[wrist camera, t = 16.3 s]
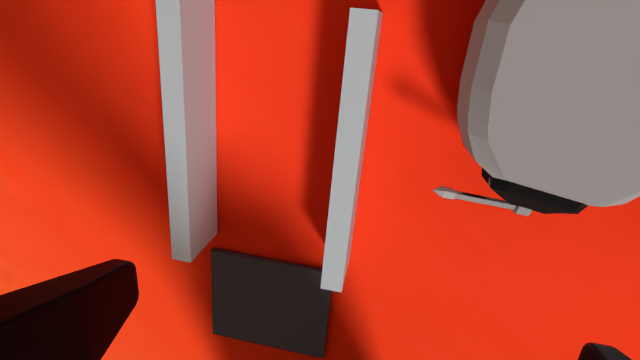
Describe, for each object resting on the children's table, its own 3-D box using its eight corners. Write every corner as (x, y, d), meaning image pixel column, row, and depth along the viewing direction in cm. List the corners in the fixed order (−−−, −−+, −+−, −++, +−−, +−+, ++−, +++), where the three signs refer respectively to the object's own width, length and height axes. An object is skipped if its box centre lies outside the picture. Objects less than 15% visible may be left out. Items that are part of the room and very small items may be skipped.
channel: (349, 257, 21) (341, 292, 18) (200, 230, 22) (172, 258, 19) (382, 13, 16) (378, 9, 14) (193, -4, 18) (154, -10, 15)
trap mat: (323, 354, 23) (323, 358, 23) (214, 330, 25) (212, 333, 24) (333, 271, 21) (333, 274, 21) (213, 248, 22) (211, 250, 22)
